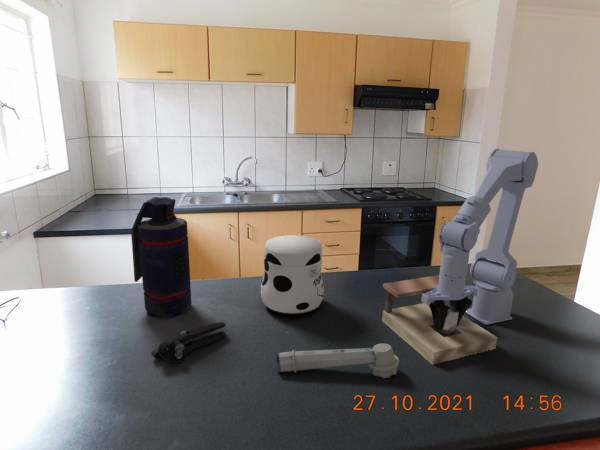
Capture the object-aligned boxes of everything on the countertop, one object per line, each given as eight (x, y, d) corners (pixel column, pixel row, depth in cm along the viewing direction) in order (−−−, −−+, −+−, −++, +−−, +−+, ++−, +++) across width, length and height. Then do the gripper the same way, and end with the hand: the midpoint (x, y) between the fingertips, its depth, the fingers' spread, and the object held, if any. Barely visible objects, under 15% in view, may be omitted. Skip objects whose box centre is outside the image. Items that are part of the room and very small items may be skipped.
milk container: (335, 309, 112) (339, 247, 107) (281, 327, 102) (282, 259, 97) (300, 287, 125) (301, 230, 120) (249, 300, 116) (249, 239, 111)
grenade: (196, 299, 116) (191, 195, 107) (184, 320, 104) (177, 205, 96) (148, 297, 116) (139, 193, 108) (130, 318, 104) (118, 204, 96)
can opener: (165, 373, 84) (163, 349, 82) (149, 359, 89) (147, 336, 87) (235, 341, 96) (234, 319, 95) (217, 329, 101) (217, 309, 99)
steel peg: (451, 331, 99) (455, 305, 97) (456, 341, 95) (461, 314, 93) (434, 331, 99) (438, 305, 97) (439, 340, 95) (443, 313, 93)
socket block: (438, 309, 113) (443, 274, 110) (497, 348, 95) (504, 307, 92) (379, 320, 106) (383, 283, 103) (430, 365, 88) (436, 321, 85)
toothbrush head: (277, 346, 87) (394, 334, 86) (281, 373, 89) (396, 362, 88) (275, 361, 82) (400, 348, 81) (279, 389, 84) (401, 377, 83)
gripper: (465, 263, 99) (457, 314, 103) (415, 270, 94) (410, 323, 98) (487, 274, 93) (479, 327, 97) (436, 282, 88) (429, 338, 92)
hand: (445, 326), depth 97 cm, fingers closed on steel peg, 4 cm apart
